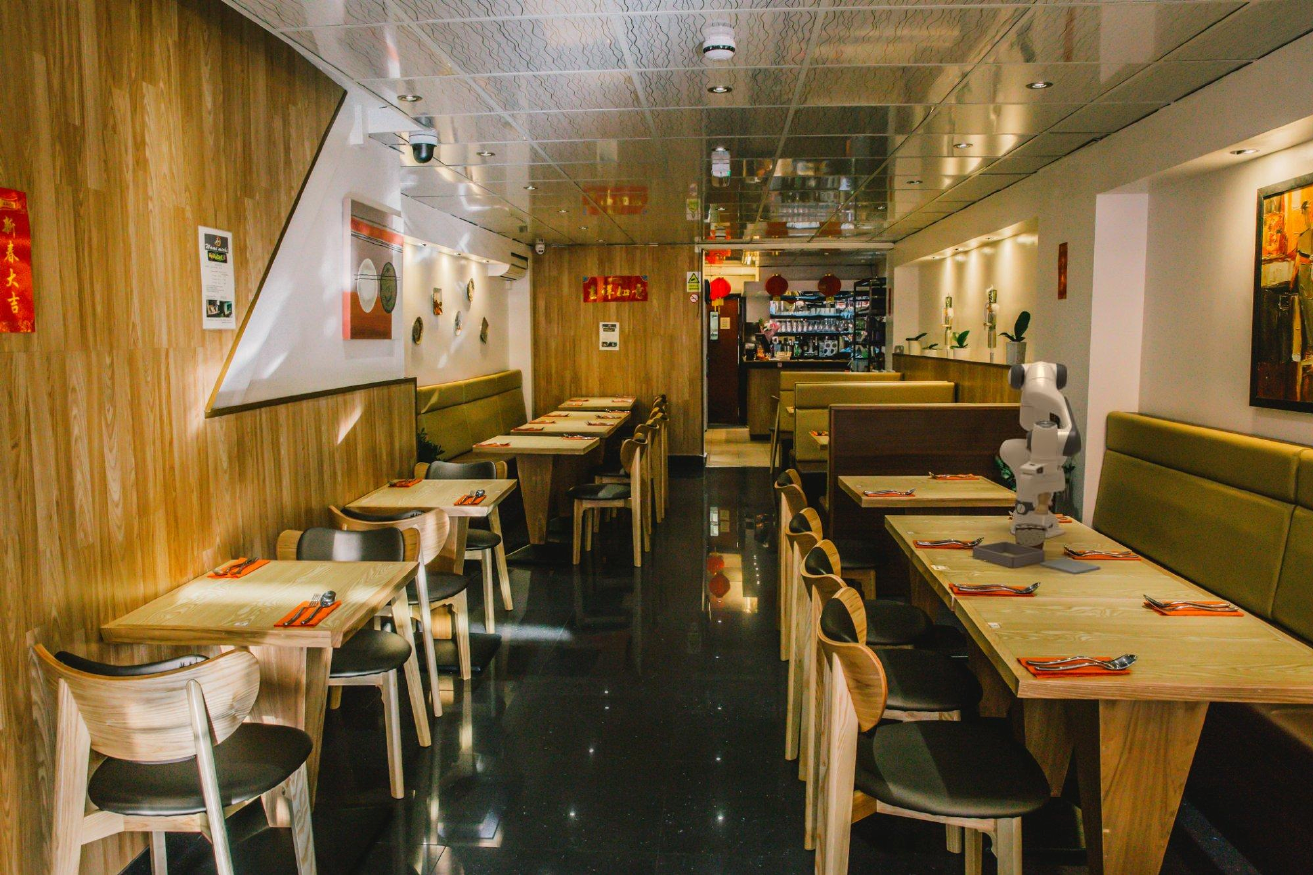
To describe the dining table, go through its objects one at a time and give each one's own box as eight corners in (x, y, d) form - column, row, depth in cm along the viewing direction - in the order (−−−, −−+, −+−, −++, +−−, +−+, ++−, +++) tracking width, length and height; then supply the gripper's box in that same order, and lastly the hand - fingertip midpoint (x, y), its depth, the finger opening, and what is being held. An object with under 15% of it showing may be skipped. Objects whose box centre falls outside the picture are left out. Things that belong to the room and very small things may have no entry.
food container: (1041, 548, 340) (1042, 523, 339) (1046, 552, 334) (1047, 526, 333) (1008, 547, 341) (1009, 522, 340) (1012, 551, 335) (1014, 525, 334)
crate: (1004, 551, 336) (1005, 541, 335) (1045, 561, 320) (1046, 551, 320) (971, 557, 327) (971, 546, 327) (1011, 568, 312) (1012, 557, 311)
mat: (1065, 560, 322) (1065, 558, 322) (1100, 569, 310) (1100, 566, 310) (1039, 565, 316) (1039, 563, 316) (1074, 574, 304) (1074, 572, 303)
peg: (1040, 512, 319) (1041, 490, 318) (1050, 514, 315) (1051, 492, 314) (1031, 513, 317) (1032, 491, 316) (1042, 515, 313) (1043, 493, 312)
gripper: (1055, 463, 322) (1053, 501, 323) (1016, 467, 312) (1014, 506, 314) (1070, 465, 316) (1068, 504, 318) (1031, 470, 307) (1029, 509, 308)
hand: (1041, 505), depth 316 cm, fingers closed on peg, 4 cm apart
